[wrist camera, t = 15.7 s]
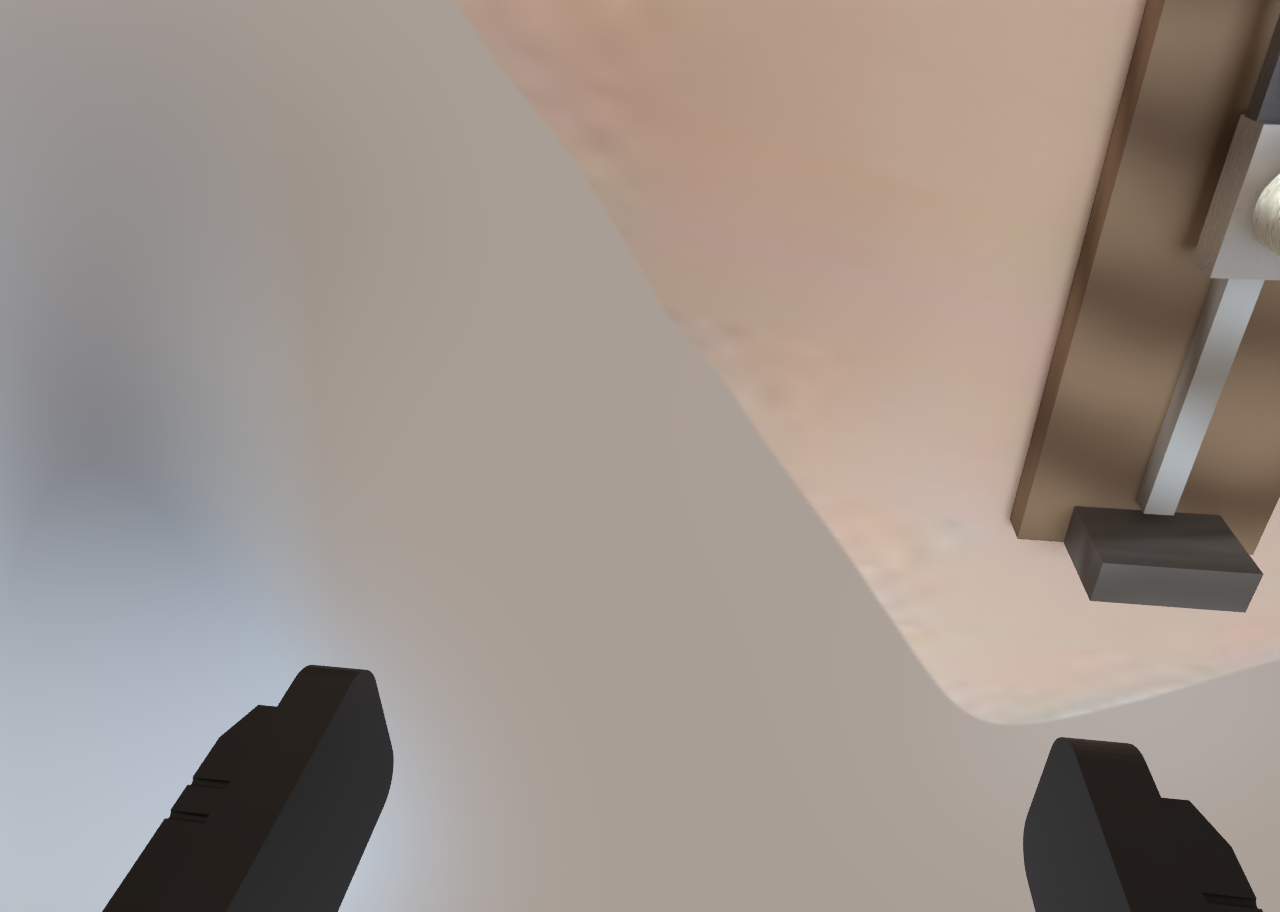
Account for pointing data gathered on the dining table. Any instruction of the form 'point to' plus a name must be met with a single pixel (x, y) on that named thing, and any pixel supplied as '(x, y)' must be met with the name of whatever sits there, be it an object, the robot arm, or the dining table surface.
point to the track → (1164, 342)
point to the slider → (1248, 189)
